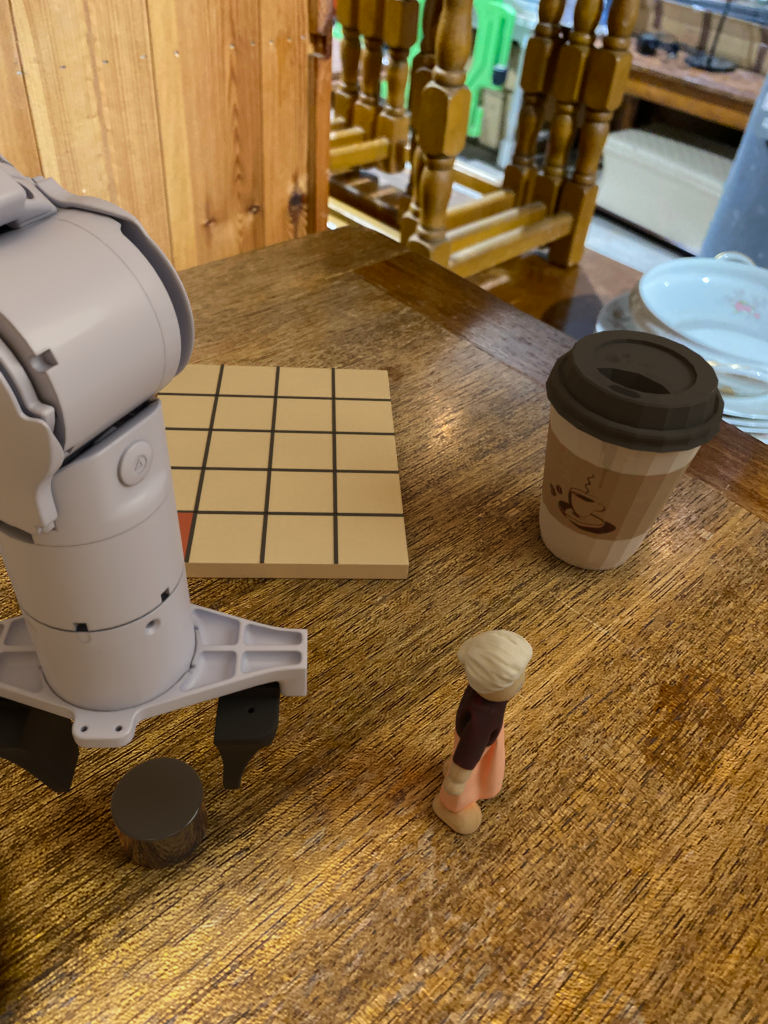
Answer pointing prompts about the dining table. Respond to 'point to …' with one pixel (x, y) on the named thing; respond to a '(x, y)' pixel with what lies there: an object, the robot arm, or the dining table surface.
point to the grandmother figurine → (481, 726)
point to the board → (285, 472)
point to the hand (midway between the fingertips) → (151, 771)
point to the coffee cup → (620, 441)
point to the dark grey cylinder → (159, 812)
